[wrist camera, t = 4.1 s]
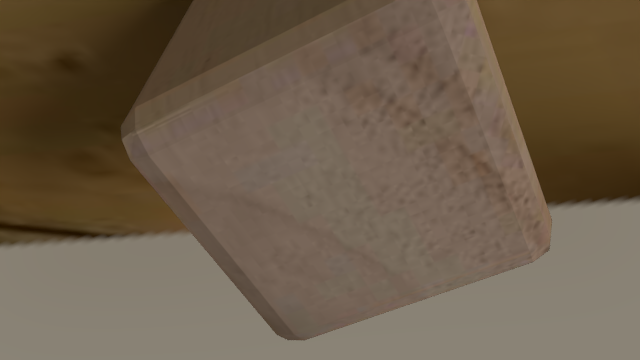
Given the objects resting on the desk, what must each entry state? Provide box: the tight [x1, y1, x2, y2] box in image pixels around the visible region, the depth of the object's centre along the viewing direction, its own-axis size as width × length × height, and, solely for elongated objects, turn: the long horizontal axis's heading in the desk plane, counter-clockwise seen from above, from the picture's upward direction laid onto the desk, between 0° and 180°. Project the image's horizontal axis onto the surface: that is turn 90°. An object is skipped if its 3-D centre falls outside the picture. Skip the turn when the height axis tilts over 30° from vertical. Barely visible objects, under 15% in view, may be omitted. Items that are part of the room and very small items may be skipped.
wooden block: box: [121, 0, 552, 340], centre depth 24 cm, size 10×10×20 cm
